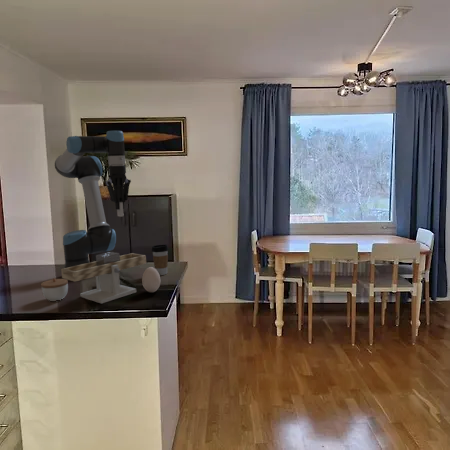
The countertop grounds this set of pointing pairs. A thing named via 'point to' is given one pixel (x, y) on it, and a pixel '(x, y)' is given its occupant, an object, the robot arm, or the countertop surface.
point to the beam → (101, 267)
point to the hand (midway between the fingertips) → (120, 216)
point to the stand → (108, 287)
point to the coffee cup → (160, 258)
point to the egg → (151, 279)
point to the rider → (107, 258)
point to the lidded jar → (55, 289)
